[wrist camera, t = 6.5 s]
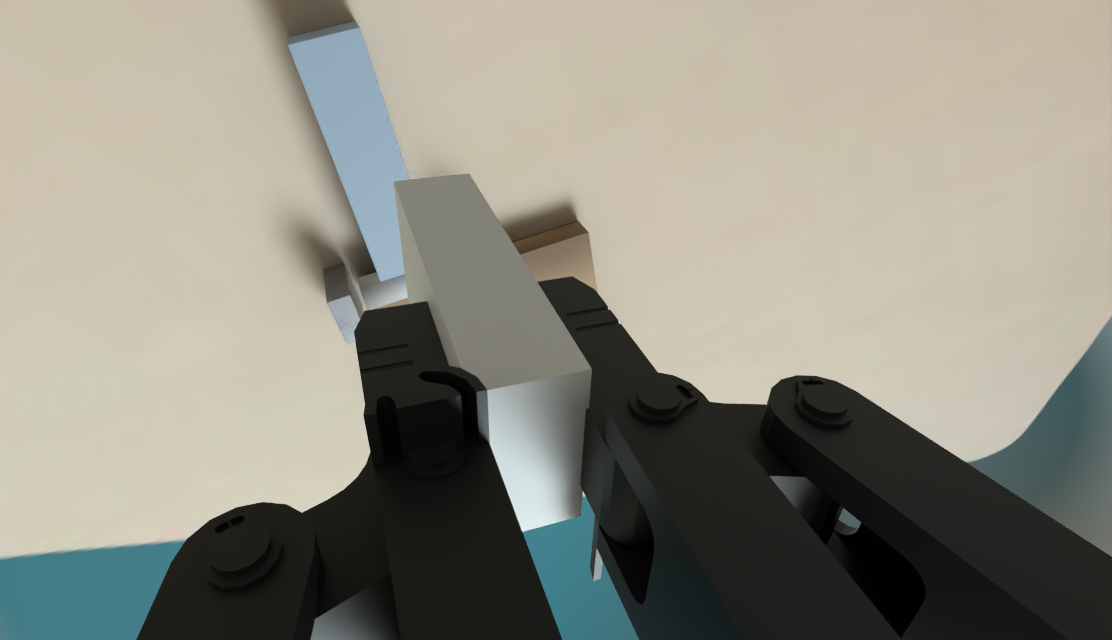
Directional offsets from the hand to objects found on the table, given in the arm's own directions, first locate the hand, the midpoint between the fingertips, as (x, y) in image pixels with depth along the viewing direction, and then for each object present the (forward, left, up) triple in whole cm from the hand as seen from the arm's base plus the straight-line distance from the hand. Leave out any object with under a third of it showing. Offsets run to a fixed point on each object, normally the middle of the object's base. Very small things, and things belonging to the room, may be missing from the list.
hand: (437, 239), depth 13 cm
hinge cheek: (+9, -4, -16) cm, 19 cm away
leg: (+4, -1, -16) cm, 17 cm away
